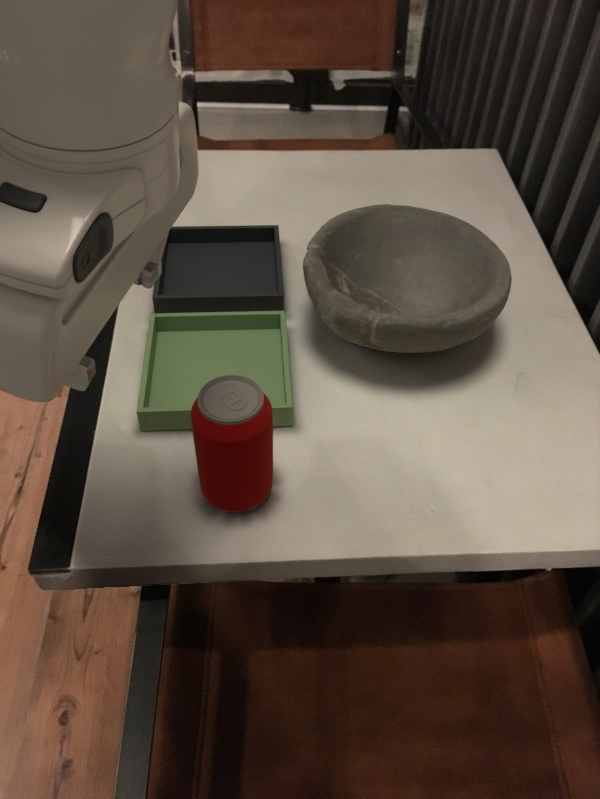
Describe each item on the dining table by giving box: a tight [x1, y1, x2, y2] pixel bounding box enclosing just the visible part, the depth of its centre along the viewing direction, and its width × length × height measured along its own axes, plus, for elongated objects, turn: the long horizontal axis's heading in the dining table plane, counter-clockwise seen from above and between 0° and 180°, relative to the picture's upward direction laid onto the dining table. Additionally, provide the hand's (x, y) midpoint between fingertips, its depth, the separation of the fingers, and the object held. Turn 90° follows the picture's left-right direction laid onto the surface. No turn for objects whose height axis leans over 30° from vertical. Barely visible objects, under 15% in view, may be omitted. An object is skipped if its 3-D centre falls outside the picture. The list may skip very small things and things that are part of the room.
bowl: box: [302, 203, 513, 354], centre depth 77 cm, size 23×22×10 cm
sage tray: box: [136, 310, 294, 432], centre depth 73 cm, size 15×15×3 cm
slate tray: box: [151, 224, 285, 314], centre depth 85 cm, size 15×15×3 cm
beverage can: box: [191, 375, 274, 513], centre depth 59 cm, size 7×7×12 cm
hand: (114, 326), depth 45 cm, fingers open, 8 cm apart
